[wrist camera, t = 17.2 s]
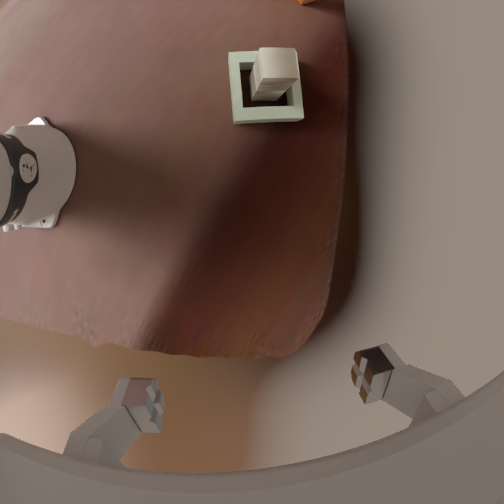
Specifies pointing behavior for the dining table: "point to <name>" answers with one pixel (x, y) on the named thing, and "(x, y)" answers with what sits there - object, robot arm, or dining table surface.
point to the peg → (272, 73)
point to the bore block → (261, 114)
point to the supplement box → (305, 1)
